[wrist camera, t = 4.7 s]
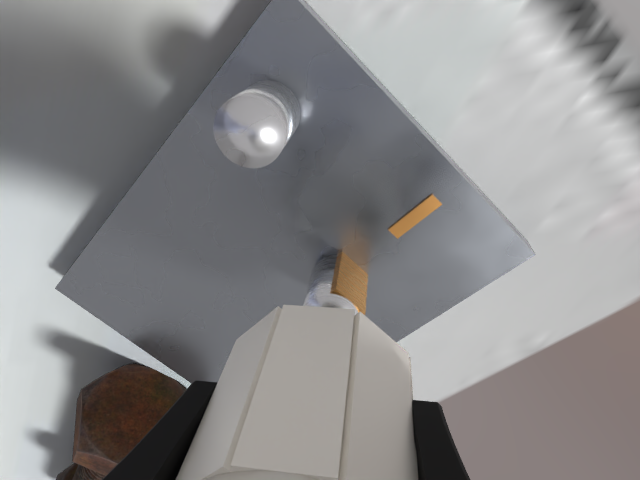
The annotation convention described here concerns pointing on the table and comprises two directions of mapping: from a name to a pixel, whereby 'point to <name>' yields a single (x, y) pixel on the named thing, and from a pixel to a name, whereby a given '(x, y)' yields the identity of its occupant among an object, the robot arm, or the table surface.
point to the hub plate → (289, 208)
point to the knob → (309, 403)
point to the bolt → (117, 417)
